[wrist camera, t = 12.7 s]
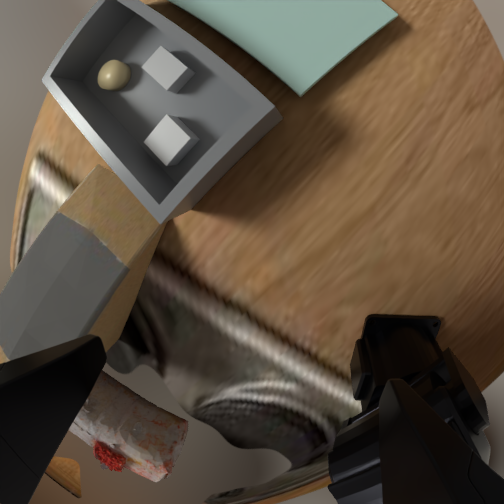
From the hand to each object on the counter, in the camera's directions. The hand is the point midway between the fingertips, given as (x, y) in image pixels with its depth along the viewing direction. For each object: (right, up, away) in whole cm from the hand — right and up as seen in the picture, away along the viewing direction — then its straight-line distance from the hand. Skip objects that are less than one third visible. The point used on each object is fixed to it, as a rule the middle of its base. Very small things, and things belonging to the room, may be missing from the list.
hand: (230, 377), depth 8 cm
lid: (+1, +22, +7) cm, 23 cm away
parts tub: (-6, +15, +10) cm, 19 cm away
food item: (-13, -15, +22) cm, 30 cm away
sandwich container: (-12, +3, +16) cm, 20 cm away
